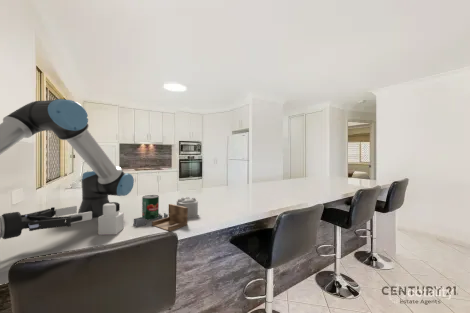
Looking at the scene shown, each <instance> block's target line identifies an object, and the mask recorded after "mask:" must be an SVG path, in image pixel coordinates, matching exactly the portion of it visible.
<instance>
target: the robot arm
mask: <svg viewBox="0 0 470 313" xmlns="http://www.w3.org/2000/svg"><path fill="white" fill-rule="evenodd" d="M88 117H89V116H88V112H87V110H86V109H85V108H84V106H83V105H81V104H80V103H79V102H77V101H74V100H72V99H65V98H64V99H63V98H57V99H52V100H51V99H49V100H48V99H47V100H35V101H31V102H29V103H26V104H25V105H23V106H21V107H19V108H17V109H16V110H14V111H13V112H11V113H9V114H8V115H6V116H5V117H3V118H2V122H1V123H0V155H2V154H3V153H5V152H6V151H8V150H9V149H10V148H12V147H13V146H14V145H16V144H17V143H19V142H20V141H22V140H23V139H29V138H31V137H32V136H34V135H35V134H37V133H41V132H47V131H52V132H53V134H54V135H56V137H57V138H58V139H59V140H61V141H66V142H68V144H69V145H70V147H72V149H73V150H74V151H75V152H76V153H77V154H78V155H79V156H80V157H81V158H82V160H83V161H84V162H85V163H86V165H88V166H89V168H90V169H91V170H92V171H84V172H83V173H82V175H81V176H82V178H81V187H82V188H81V193H82V194H81V196H82V197H81V198H82V199H81V202H80V205H79V208H78V206H77V205H72V206H68V207H61V208H56V207H50V208H47V209H43V210H39V211H34V212H30V213H27V214H21V212H19V211H15V212H14V211H13V212H8V213H7V212H6V213H3V214H1V215H0V240H1V239H2V240H7V239H14V238H17V237H20V236H21V234H22V231H23V230H24V229H25V230H27V229H28V231H29V232H33V231H39V230H45V229H46V230H47V229H53V228H65V227H67V228H70V227H71V226H72V225H71V224H75V223H80V222H85V221H90V220H93V218H98V217H100V216H102V215H104V214H103V205H104V204H106V203H110V200H109V196H114V197H115V196H116V197H122V196H124V197H125V196H127V195H129V194H130V193H131V192H132V191H133V188H134V182H135V181H134V180H135V179H134V176H133V175H132V174H131V173H129V172H124V170H123V169H122V168H121V166H117V165H115V164H114V163H113V161H112V160H111V159H110V158H109V156H108V155H107V153H105V151H104V149H103V148H102V147H101V146H100V144H99V143H98V142H97V140H96V139H95V138H94V137H93V135H92V134H91V133H90V131H89V130H88V129H89V118H88ZM77 210H78V211H77Z"/></svg>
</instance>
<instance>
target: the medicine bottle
mask: <svg viewBox="0 0 470 313" xmlns="http://www.w3.org/2000/svg"><path fill="white" fill-rule="evenodd" d="M109 202H110V201H109ZM120 207H121V206H120V203H119V202H118V201H117V202H116V201H113V202H112V201H111V202H110V203H106V204H104V205H103V214H104V215H102V216H98V217H97V235H98V236H104V235H105V236H106V235H107V236H108V235H110V236H112V235H115V236H116V235H117V234H119V233H120V232H121V231H122V230H123V229H124V228H125V226H124V222H125V219H124V218H125V217H124V216H125V214H124V212H121V210H120V209H121V208H120Z"/></svg>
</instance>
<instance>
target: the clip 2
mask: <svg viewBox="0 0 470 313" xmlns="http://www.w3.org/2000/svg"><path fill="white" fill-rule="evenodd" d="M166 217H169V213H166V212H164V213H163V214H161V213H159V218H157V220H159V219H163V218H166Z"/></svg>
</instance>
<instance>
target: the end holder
mask: <svg viewBox="0 0 470 313" xmlns="http://www.w3.org/2000/svg"><path fill="white" fill-rule="evenodd" d="M188 218H189V217H188V207H183V206H178V205H177V204H174V203H169V204H168V217H166V218H163V219H159V220H158V219H155V220H151V226H153V227H155V226H156V227H155V228H159V229H161V230H165V231H168V232H171V231H175V230H178V229H181V228H183V227H186V226H188V223H189V221H188V220H189V219H188Z"/></svg>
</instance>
